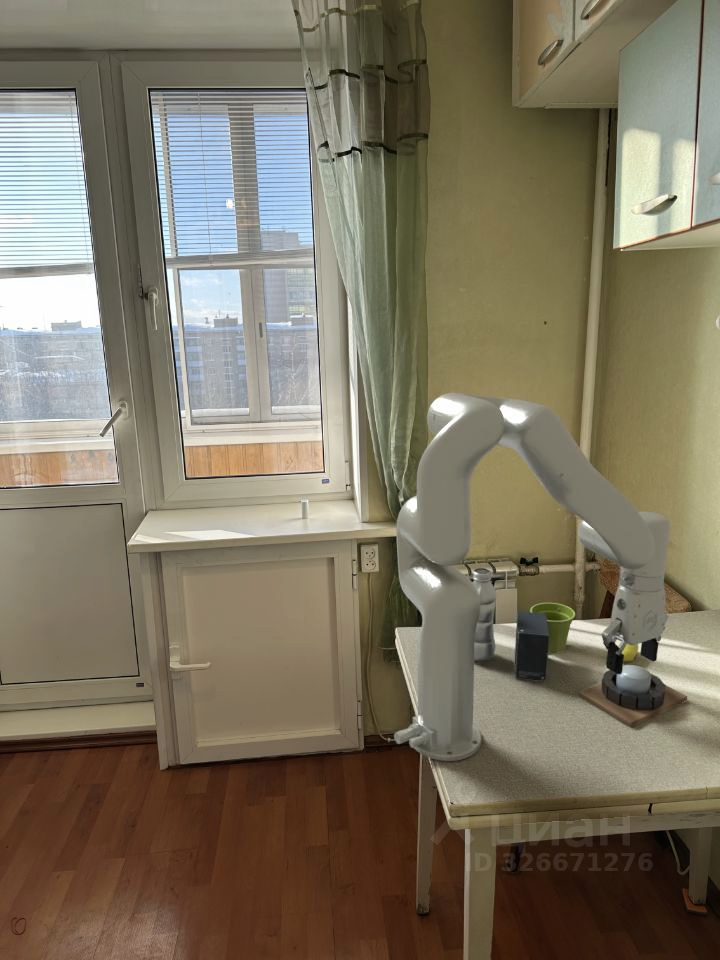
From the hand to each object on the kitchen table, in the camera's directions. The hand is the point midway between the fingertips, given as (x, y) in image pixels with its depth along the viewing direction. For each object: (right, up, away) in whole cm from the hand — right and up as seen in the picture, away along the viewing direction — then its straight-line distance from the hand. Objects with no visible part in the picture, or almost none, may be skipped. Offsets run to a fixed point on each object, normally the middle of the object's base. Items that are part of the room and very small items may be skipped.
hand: (631, 664), depth 129 cm
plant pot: (-9, -2, +22) cm, 24 cm away
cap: (+1, -6, +2) cm, 6 cm away
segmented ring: (+1, -7, +2) cm, 7 cm away
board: (+1, -7, +2) cm, 7 cm away
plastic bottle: (-25, -4, +19) cm, 32 cm away
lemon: (+6, -4, +17) cm, 18 cm away
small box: (-16, -5, +14) cm, 22 cm away
